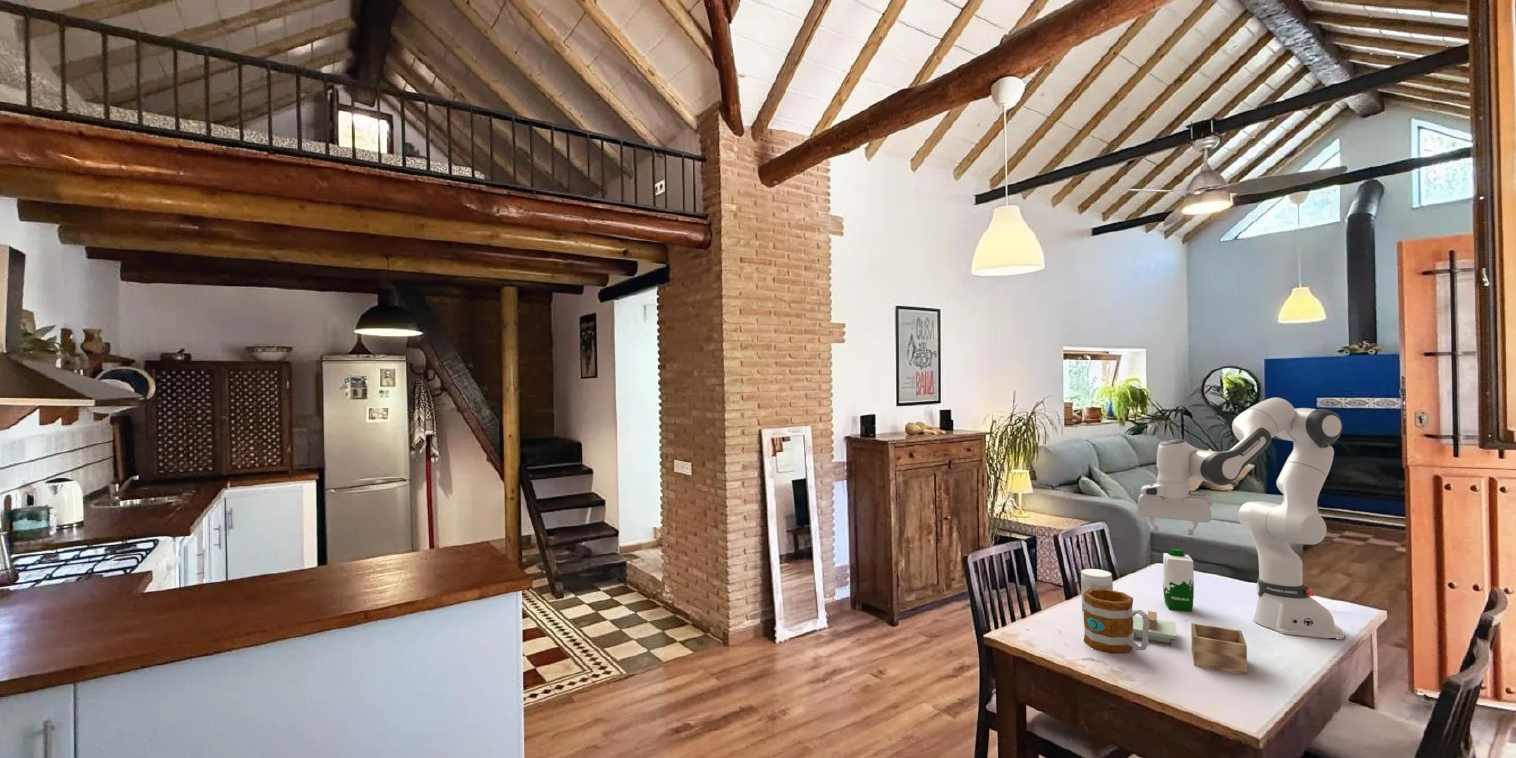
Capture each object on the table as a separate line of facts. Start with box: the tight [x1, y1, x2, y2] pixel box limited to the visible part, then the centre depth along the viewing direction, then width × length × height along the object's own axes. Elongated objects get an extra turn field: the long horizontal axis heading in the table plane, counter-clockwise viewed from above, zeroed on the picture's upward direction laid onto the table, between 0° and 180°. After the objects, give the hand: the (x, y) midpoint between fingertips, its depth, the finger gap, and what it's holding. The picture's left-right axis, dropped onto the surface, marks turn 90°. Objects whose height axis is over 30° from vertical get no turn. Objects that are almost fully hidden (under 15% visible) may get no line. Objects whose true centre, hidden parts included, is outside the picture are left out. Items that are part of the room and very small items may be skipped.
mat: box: [1132, 632, 1173, 647], centre depth 204 cm, size 10×12×1 cm
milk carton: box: [1162, 547, 1195, 613], centre depth 228 cm, size 9×9×20 cm
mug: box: [1083, 589, 1149, 655], centre depth 195 cm, size 20×14×15 cm
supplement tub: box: [1080, 568, 1114, 615], centre depth 222 cm, size 10×10×15 cm
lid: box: [1132, 610, 1178, 643], centre depth 204 cm, size 12×12×6 cm
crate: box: [1190, 622, 1248, 676], centre depth 185 cm, size 12×12×8 cm
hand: (1173, 533), depth 208 cm, fingers open, 8 cm apart
